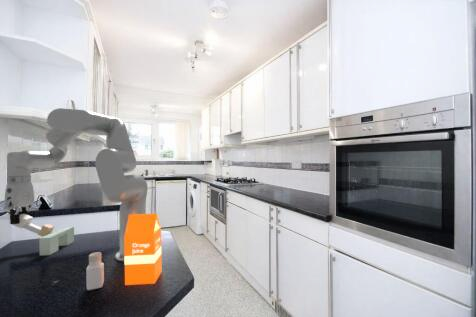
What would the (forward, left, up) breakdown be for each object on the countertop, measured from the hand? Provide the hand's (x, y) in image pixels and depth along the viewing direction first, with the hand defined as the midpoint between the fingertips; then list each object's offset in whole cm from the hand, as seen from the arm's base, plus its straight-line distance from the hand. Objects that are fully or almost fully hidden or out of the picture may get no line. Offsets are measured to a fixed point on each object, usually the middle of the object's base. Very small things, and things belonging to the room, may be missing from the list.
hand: (19, 222), depth 99 cm
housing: (-15, 0, -12) cm, 20 cm away
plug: (-5, 0, -4) cm, 6 cm away
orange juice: (-62, +34, -12) cm, 72 cm away
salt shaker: (-49, +37, -12) cm, 63 cm away
